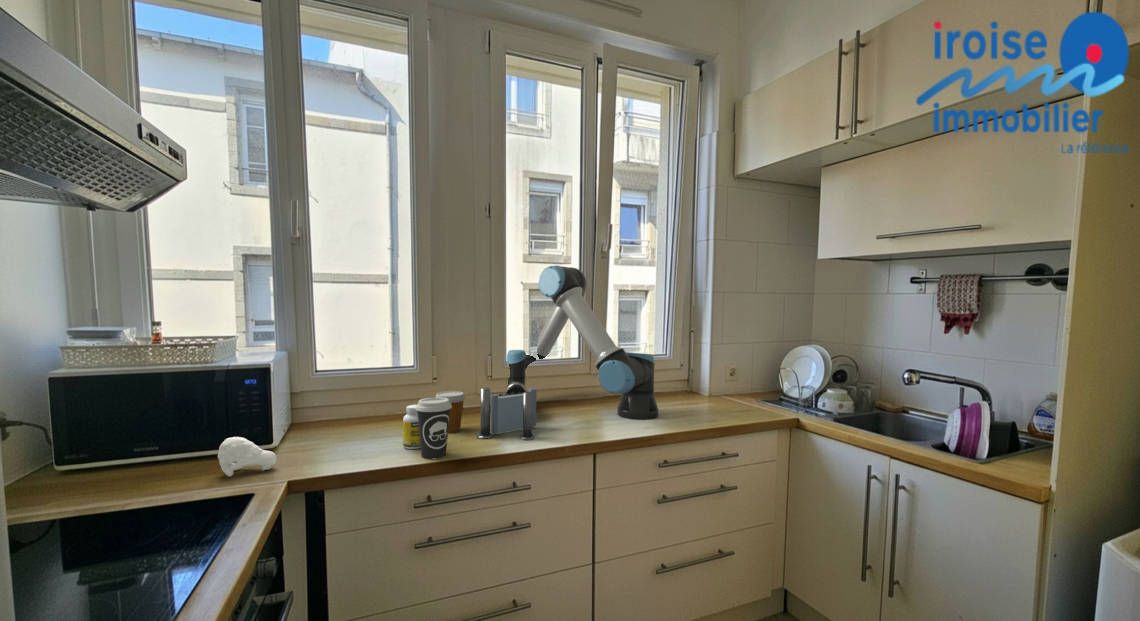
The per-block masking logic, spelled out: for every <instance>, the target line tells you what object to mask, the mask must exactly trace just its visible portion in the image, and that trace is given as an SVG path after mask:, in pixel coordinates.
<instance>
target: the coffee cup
mask: <svg viewBox="0 0 1140 621" xmlns="http://www.w3.org/2000/svg"><path fill="white" fill-rule="evenodd" d="M416 405H417V406H416V410H417V413H418V423H419V434H420V446H421V448H420V455H421V458H423V459H426V458H427V459H426V460H434V459H433V458H436V459H440V457H441V458H443V457H445V456H446V455H447V447H448V436H449V433H448V426H449V415H450V409H451V408H452V405H451V403H450V402H449V399H447V398H442V397H436V396H434V397H425V398H421V399H419V400H418V402H417V404H416ZM442 456H443V457H442Z"/></svg>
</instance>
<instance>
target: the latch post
mask: <svg viewBox="0 0 1140 621" xmlns="http://www.w3.org/2000/svg"><path fill="white" fill-rule="evenodd" d="M533 428H534V427H533V392H527V391H526V392H523V429H522V434H521V435H519V439H520V440H521V439H522V440H523V441H532V440H535V439H536V437H537V436H536V435H535V434H534V433H533ZM522 440H521V441H522Z"/></svg>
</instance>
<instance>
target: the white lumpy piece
mask: <svg viewBox="0 0 1140 621" xmlns="http://www.w3.org/2000/svg"><path fill="white" fill-rule="evenodd" d="M217 459H218V461H219V466H220V468H221V470H222V471H223V472H224V474H225V475H226V476H227V477H229V478H230V477H232V476H233V475H234V471H237V470H238V471H239V470H240V469H243V468H244V467H251V466H260V467H261V472H263V471H265V470H270V469H271V468H272V467H273V465H274V464H275V463H276V462H277V455H276V454H275V453H274V452H273V451H270V450H265V449H262V448H260V447H259V445H256V444H255V443H254V442H253V441H250V440H248V439H247V438H245V437H241V436H233V437H228V438H225V439H224V441H222V443H221V444H220V445H219V448H218V453H217Z"/></svg>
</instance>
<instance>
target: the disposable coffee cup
mask: <svg viewBox="0 0 1140 621" xmlns="http://www.w3.org/2000/svg"><path fill="white" fill-rule="evenodd" d="M435 397H442V398H447V399H449V402H450V403H451V405H452V408H451V409H450V415H449V426H448V434H454V433H457V432H460V430H461V425H462V419H463V418H462V416H463V408H464V401H465V399H466V396H465V393H464V392H462V391H459V390H458V391H457V390H453V391H452V390H448V391H440V392H438V393H436V394H435Z"/></svg>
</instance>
